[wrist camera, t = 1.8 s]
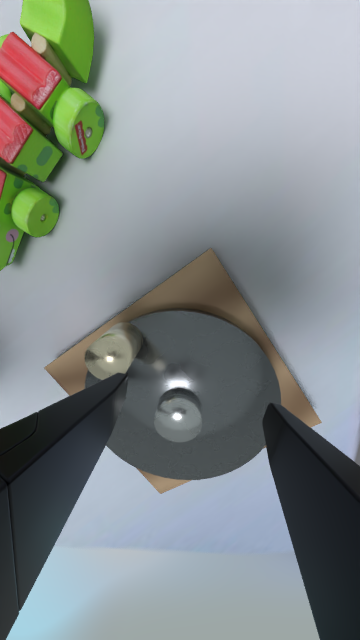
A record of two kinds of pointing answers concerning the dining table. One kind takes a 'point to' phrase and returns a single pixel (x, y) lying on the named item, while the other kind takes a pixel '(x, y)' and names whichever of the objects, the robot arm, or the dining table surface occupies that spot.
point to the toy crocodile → (42, 112)
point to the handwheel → (185, 392)
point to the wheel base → (202, 294)
